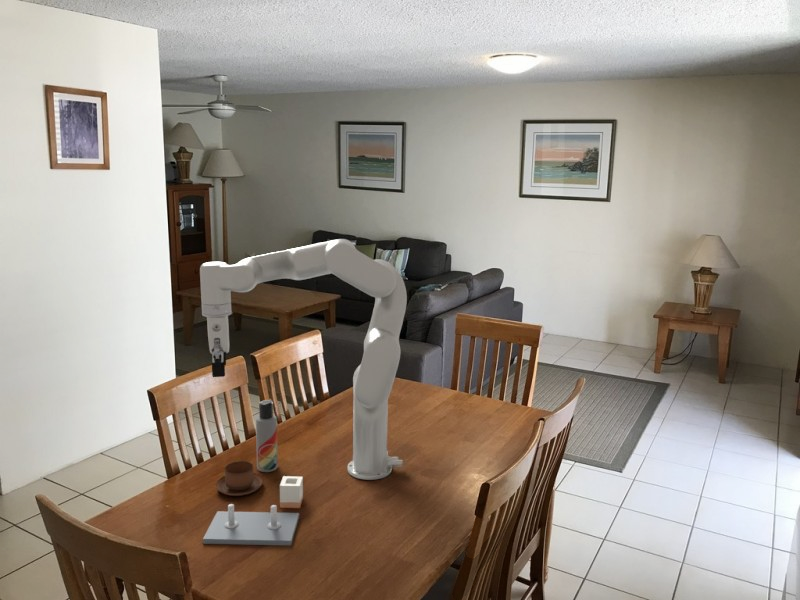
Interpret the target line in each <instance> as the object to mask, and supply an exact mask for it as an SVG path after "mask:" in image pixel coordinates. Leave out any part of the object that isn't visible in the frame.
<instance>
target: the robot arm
mask: <svg viewBox="0 0 800 600" xmlns="http://www.w3.org/2000/svg"><path fill="white" fill-rule="evenodd" d="M331 274H332V275H334V276H336V277H337V278H339V279H340V280H342V281H343V282H344V283H345V282H346V283H348V284H349V285H351V286H352V287H354V288H355V289H358V290H359V291H361V292H363V293H365V294H367V295H368V296H370V297H373V298H375V299H374V300H375V301H374V307H373V310H372V314H371V318H370V322H369V326H368V329H367V333H366V335H365V337H364V340H363V354H362V359H361V362H360V364H359V365H358V367H356V368H355V370H354V373H353V377H352V385H353V387H352V388H353V389H352V390H353V395H352V396H353V401H352V402H353V405H352V407H353V412H352V415H353V416H352V420H353V421H352V423H353V424H352V425H353V426H352V435H353V436H352V460H351V461H350V462H348V464H347V473H348V474H349V475H350V476H352V477H353V478H356V479H359V480H367V481H373V480H374V481H375V480H379V479H383V478H386V477H388V476H389V475H390V474H391V473H392V471H393V467H397V468H398V467H399V468H400V467H401V468H403V459H399V456H390V455H389V451H388V417H389V416H388V413H389V411H388V409H389V407H388V406H389V403H388V402H389V400H388V399H389V398H390V395H391V391H392V389H393V385H394V381H395V378H396V374H397V372H398V367H399V363H400V359H401V353H402V352H401V346H400V340H399V339H400V334H401V330H402V326H403V322H404V318H405V314H406V309H407V304H408V303H407V301H408V299H407V298H408V295H407V289H406V285H405V281H404V279H403V277H402V276H401V274H400V272H399V271H398V270H397V268H396V267H395V266H394V265H393V264H392V263H390V262H389V261H387V260H384V259H381V258H379V259H378V258H377V259H373V258H371V257H369V256H367V255H366V254H364V253H363V252H361V251H359V249H357V248H356V247H355V244H353V242H351V241H350V240H349V239H346V238H338V239H331V240H327V241H323V242H317V243H313V244H309V245H304V246H300V247H295V248H289V249H286V250H280V251H276V252H275V251H274V252H270V253H266V254H265V253H264V254H260V255H256V256H255V255H254V256H251V257H246V258H243V259H240V261H238V262H236V263H235V264H228V263H227V262H224V261H208V262H204V263H202V264H201V265H200V267H199V277H200V281H199V282H200V295H201V296H200V298H201V300H200V301H201V315H202V316H203V317H205V318H206V321H207V322H206V323H207V325H206V326H207V327H206V328H207V337H208V338H207V339H208V348H209V349H208V350H209V353H210V354H211V355H212V356H211V357H212V359H211V360H212V361H211V375H212V377H213V378H223V377H225V376H226V365H227V354H228V353H229V352H230V329H229V328H230V327H229V325H230V324H229V316H230V315H232V295H231V294H232V293H231V292H236V293H249V292H250V291H252V290H253V289H255V287H256V286H257V285H258V284H261V283H265V282H269V281H275V280H281V279H287V280H289V279H290V280H294V281H302V280H307V279H312V278H316V277H321V276H325V275H331Z"/></svg>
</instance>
